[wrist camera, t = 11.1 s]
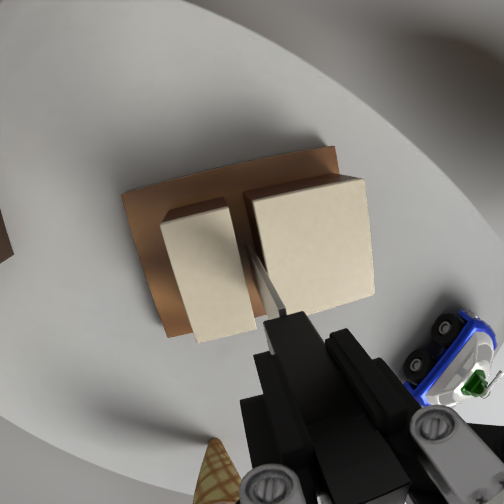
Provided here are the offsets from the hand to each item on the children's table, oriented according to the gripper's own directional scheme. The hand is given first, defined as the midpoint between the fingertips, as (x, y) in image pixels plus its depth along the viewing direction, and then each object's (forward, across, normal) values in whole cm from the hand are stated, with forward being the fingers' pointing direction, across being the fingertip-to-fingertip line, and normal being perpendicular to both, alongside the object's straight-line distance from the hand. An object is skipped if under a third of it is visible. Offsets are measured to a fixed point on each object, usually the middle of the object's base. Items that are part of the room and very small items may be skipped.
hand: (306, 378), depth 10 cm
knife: (+13, 0, 0) cm, 13 cm away
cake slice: (+15, +3, 0) cm, 15 cm away
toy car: (+17, -20, +19) cm, 32 cm away
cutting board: (+17, 0, 0) cm, 17 cm away
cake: (+15, -4, 0) cm, 16 cm away
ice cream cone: (+17, +8, +22) cm, 29 cm away
